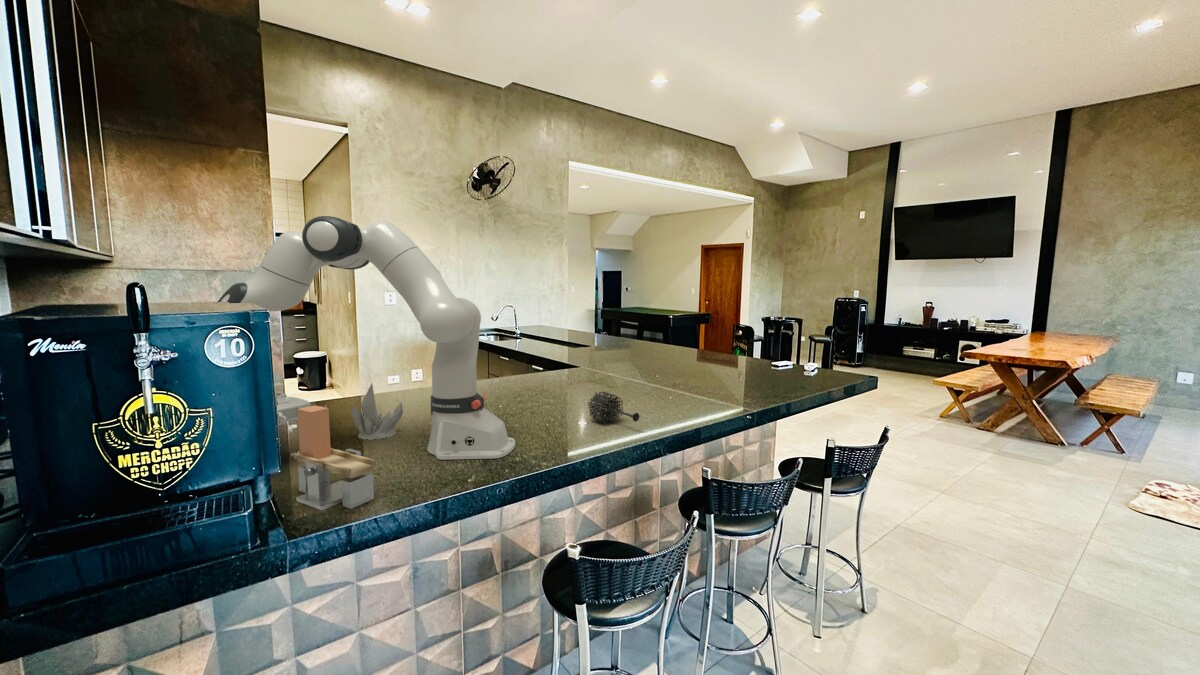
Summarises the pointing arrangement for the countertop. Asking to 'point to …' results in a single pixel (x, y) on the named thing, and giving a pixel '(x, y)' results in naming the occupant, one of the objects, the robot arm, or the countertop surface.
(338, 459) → the beam
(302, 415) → the block
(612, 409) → the massage brush
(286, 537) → the countertop surface
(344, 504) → the fulcrum
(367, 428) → the crystal
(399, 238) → the robot arm
